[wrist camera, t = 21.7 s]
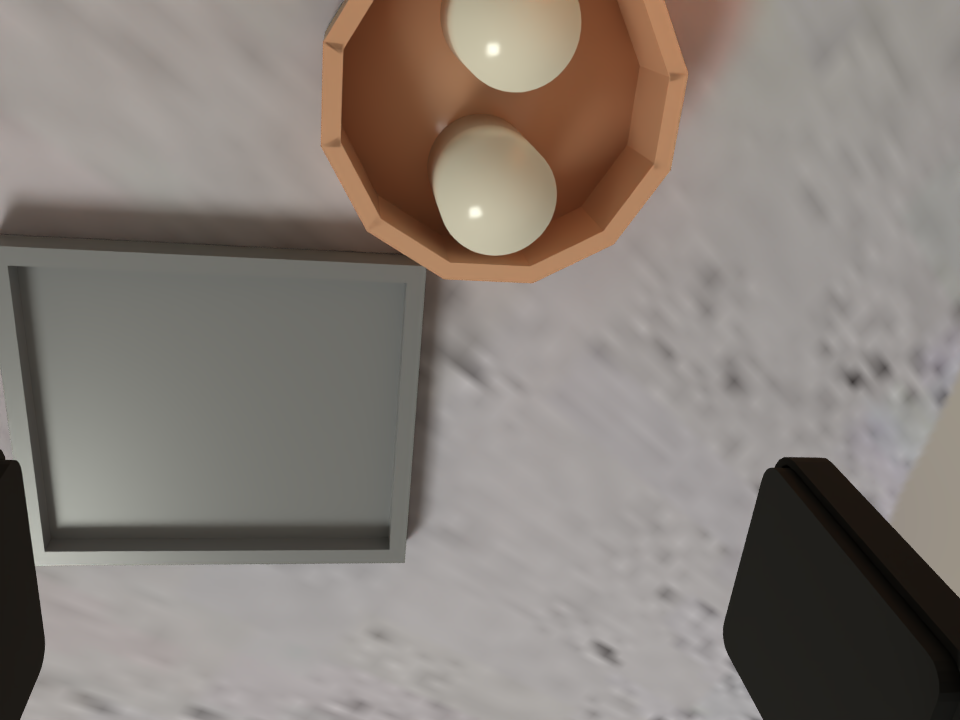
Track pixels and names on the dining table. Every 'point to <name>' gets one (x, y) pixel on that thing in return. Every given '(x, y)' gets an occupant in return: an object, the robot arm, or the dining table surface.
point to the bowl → (535, 114)
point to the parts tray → (210, 400)
